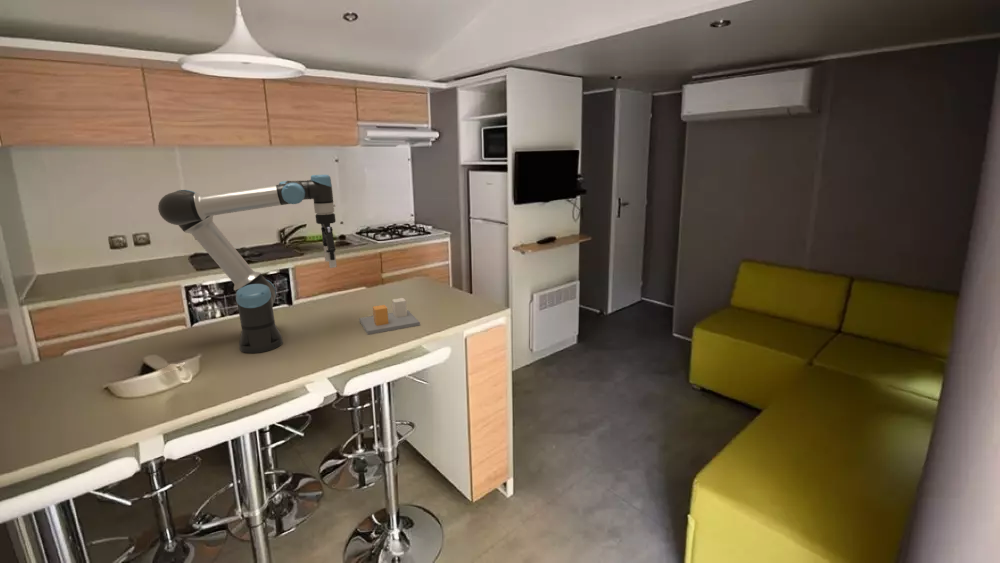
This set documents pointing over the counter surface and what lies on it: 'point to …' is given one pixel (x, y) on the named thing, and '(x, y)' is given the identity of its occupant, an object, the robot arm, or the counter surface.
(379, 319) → the orange rectangular block
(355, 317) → the counter surface
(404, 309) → the plate
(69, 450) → the counter surface
